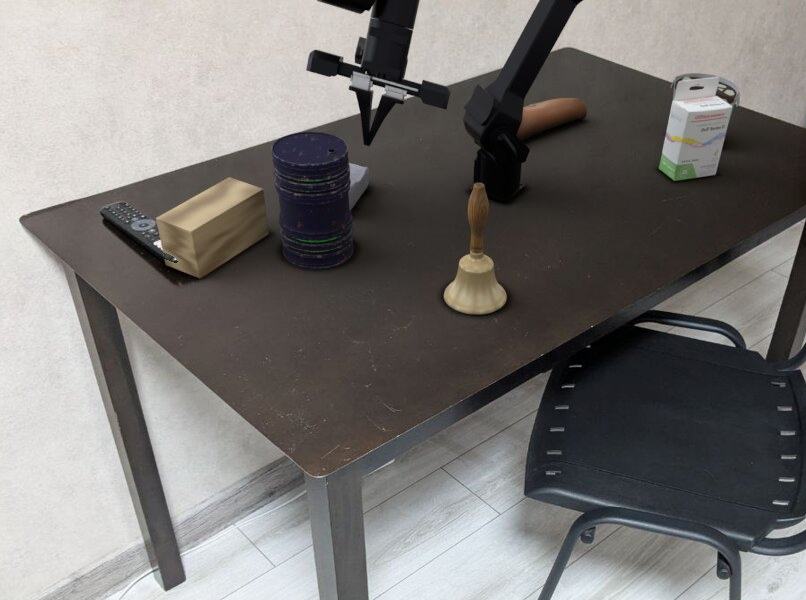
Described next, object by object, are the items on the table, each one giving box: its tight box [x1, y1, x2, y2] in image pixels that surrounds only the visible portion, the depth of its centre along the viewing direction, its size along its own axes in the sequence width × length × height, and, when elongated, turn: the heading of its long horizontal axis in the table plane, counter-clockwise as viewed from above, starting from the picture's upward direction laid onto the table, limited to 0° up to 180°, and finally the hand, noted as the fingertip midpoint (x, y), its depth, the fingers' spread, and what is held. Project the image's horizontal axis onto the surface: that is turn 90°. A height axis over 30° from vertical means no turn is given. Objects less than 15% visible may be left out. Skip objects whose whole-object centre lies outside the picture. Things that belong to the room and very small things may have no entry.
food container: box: [669, 72, 741, 121], centre depth 159 cm, size 12×6×10 cm, turn 58°
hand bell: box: [443, 183, 508, 316], centre depth 115 cm, size 8×8×16 cm
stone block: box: [349, 162, 371, 212], centre depth 137 cm, size 12×5×10 cm
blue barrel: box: [271, 131, 354, 269], centre depth 122 cm, size 10×10×15 cm
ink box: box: [658, 76, 732, 182], centre depth 146 cm, size 9×5×15 cm, turn 114°
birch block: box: [155, 176, 270, 279], centre depth 123 cm, size 6×14×7 cm, turn 151°
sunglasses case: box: [516, 97, 588, 142], centre depth 160 cm, size 18×7×7 cm
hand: (366, 145), depth 124 cm, fingers closed
